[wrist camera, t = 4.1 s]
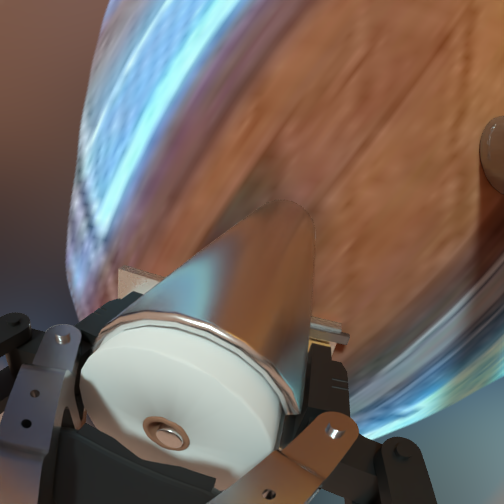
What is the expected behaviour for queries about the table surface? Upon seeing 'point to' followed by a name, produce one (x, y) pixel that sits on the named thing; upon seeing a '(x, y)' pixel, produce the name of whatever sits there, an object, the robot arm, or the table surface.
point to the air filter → (212, 351)
